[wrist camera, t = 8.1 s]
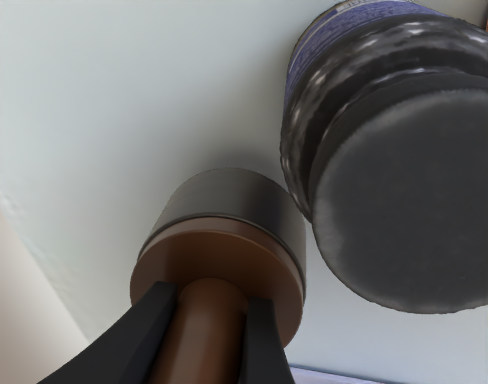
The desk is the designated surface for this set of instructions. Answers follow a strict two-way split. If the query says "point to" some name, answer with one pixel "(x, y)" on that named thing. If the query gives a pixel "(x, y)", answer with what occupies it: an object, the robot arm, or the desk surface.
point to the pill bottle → (393, 152)
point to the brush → (222, 271)
